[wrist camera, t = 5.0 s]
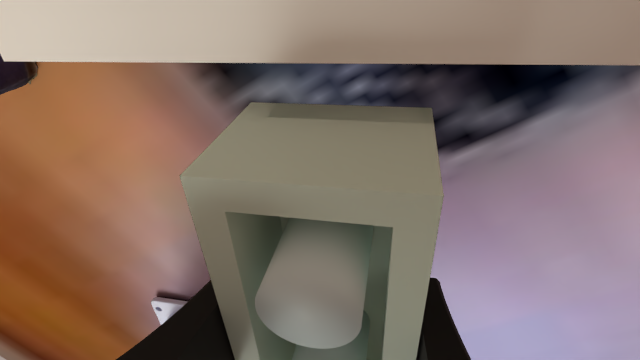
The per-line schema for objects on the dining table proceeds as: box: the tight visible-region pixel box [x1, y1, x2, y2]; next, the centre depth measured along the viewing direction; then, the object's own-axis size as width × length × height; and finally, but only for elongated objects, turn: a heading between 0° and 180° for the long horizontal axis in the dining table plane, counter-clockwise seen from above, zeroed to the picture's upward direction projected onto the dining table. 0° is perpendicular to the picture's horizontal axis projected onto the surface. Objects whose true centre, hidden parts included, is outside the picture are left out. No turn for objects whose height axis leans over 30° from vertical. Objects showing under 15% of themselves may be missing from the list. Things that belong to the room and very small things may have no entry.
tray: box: [180, 102, 444, 360], centre depth 11 cm, size 11×5×4 cm, turn 3°
